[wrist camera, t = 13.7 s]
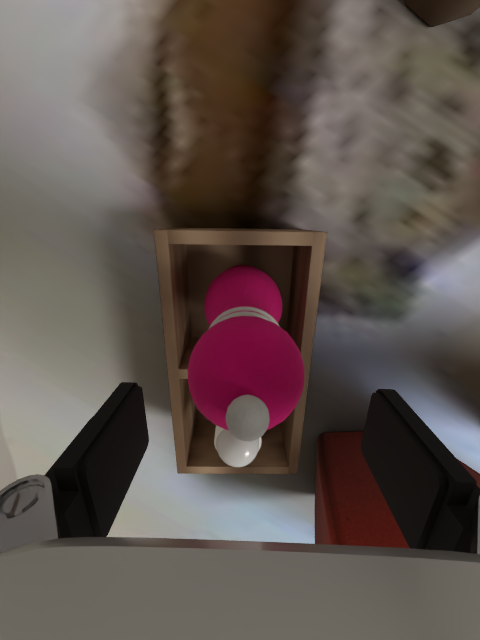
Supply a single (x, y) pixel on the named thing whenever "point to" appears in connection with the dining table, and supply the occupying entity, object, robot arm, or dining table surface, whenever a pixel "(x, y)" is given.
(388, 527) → the plant pot
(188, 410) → the caddy
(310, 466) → the dining table surface
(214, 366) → the pepper mill
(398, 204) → the dining table surface
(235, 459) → the salt shaker
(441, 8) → the beer bottle
